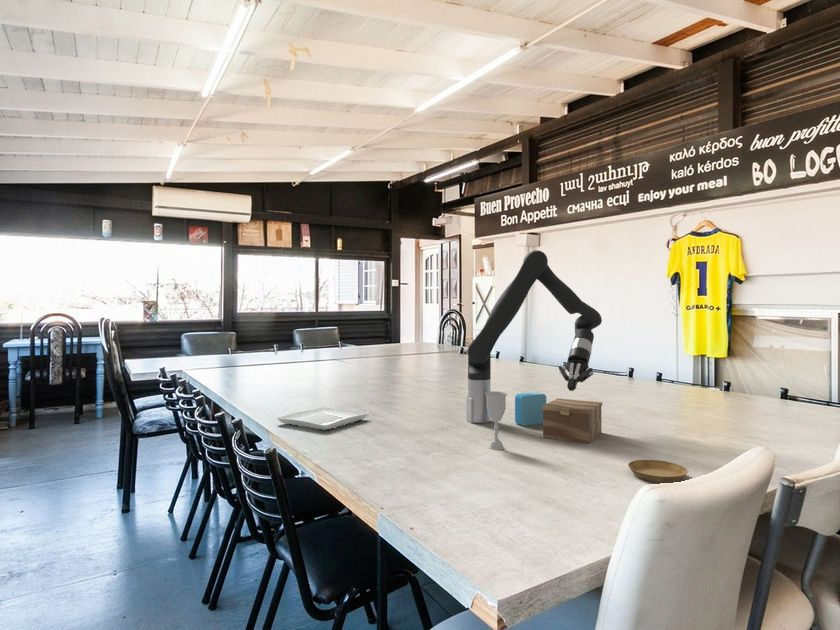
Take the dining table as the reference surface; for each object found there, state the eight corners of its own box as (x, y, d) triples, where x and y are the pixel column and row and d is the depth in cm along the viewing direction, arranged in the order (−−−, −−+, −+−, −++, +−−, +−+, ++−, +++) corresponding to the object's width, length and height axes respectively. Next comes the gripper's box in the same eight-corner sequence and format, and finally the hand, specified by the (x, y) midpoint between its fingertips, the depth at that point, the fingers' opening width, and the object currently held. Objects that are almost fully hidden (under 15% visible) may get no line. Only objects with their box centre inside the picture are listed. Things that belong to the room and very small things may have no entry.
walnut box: (558, 427, 194) (558, 401, 194) (601, 432, 186) (601, 405, 185) (543, 437, 179) (543, 409, 179) (589, 443, 170) (589, 414, 170)
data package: (539, 421, 204) (539, 392, 204) (546, 423, 200) (546, 393, 200) (514, 424, 200) (514, 394, 200) (521, 426, 196) (521, 395, 196)
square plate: (371, 420, 209) (371, 411, 209) (325, 434, 186) (325, 424, 186) (322, 414, 223) (322, 405, 223) (274, 426, 200) (274, 416, 200)
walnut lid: (557, 403, 194) (557, 398, 194) (602, 407, 185) (602, 402, 185) (541, 412, 178) (541, 406, 178) (589, 417, 169) (589, 411, 169)
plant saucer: (660, 489, 127) (660, 479, 127) (616, 472, 141) (616, 463, 141) (700, 481, 133) (700, 471, 133) (654, 465, 147) (654, 456, 147)
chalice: (509, 445, 168) (508, 392, 168) (505, 451, 162) (505, 395, 161) (487, 444, 170) (487, 391, 170) (483, 449, 164) (482, 394, 164)
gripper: (560, 345, 192) (550, 381, 181) (596, 347, 185) (588, 384, 174) (564, 358, 196) (554, 394, 186) (599, 360, 189) (591, 397, 179)
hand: (570, 389), depth 180 cm, fingers closed
